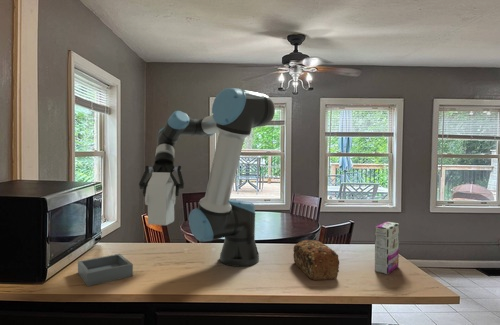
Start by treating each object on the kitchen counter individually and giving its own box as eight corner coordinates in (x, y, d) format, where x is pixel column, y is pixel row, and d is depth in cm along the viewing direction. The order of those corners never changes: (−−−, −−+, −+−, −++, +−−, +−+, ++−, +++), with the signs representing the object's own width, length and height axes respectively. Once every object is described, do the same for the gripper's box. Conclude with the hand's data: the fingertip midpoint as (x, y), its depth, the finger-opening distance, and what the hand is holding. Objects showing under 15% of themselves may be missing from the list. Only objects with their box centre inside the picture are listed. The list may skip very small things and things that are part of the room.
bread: (339, 280, 109) (340, 250, 109) (309, 281, 108) (309, 251, 107) (318, 261, 128) (318, 235, 127) (292, 262, 126) (292, 236, 126)
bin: (132, 275, 111) (132, 264, 110) (87, 286, 102) (87, 273, 102) (119, 264, 122) (119, 253, 121) (77, 272, 113) (77, 261, 113)
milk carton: (165, 225, 118) (165, 173, 117) (147, 225, 119) (147, 172, 119) (174, 221, 125) (174, 172, 124) (157, 221, 126) (156, 171, 126)
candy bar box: (385, 263, 125) (386, 221, 125) (398, 266, 122) (400, 223, 121) (373, 271, 117) (374, 225, 117) (387, 275, 114) (389, 228, 113)
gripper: (191, 163, 138) (190, 207, 123) (138, 164, 135) (130, 209, 120) (191, 151, 133) (190, 195, 118) (135, 151, 130) (127, 196, 114)
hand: (160, 202), depth 119 cm, fingers closed on milk carton, 9 cm apart
